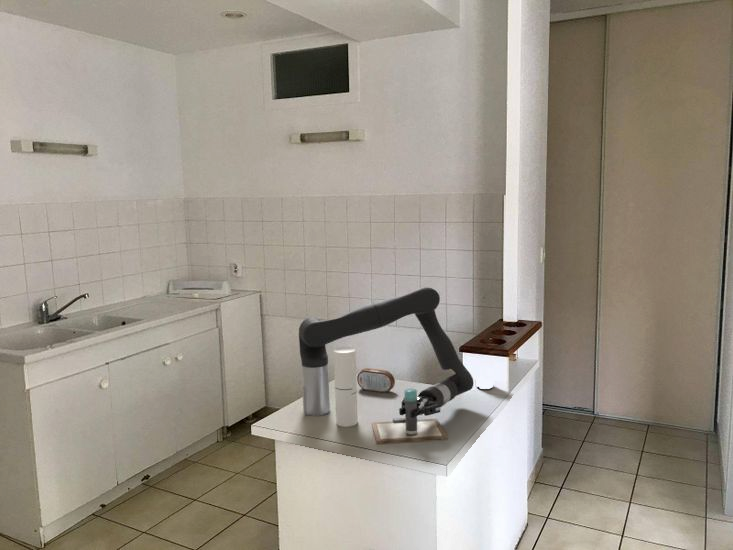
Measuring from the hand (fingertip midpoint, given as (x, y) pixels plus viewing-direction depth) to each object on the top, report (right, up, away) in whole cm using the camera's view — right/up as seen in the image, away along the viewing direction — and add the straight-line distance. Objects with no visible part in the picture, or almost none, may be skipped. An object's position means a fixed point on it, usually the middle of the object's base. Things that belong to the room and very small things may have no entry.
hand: (406, 413), depth 187 cm
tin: (-9, -2, +48) cm, 49 cm away
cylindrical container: (-19, -7, +17) cm, 26 cm away
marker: (+2, -7, +3) cm, 8 cm away
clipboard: (+1, -8, +8) cm, 11 cm away
